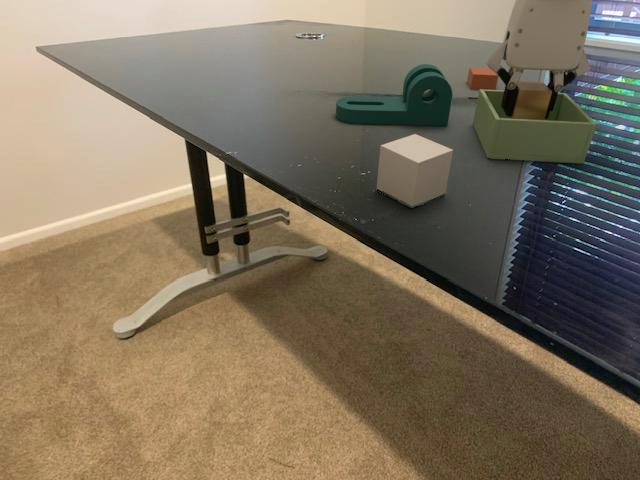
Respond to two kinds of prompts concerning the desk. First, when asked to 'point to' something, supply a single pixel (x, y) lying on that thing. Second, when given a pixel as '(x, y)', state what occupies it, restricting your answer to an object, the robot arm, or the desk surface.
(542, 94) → the maple block
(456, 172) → the desk surface
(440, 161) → the white cube
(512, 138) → the basket
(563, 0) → the robot arm
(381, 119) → the bracket
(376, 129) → the desk surface
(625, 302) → the desk surface
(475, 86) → the terracotta block
